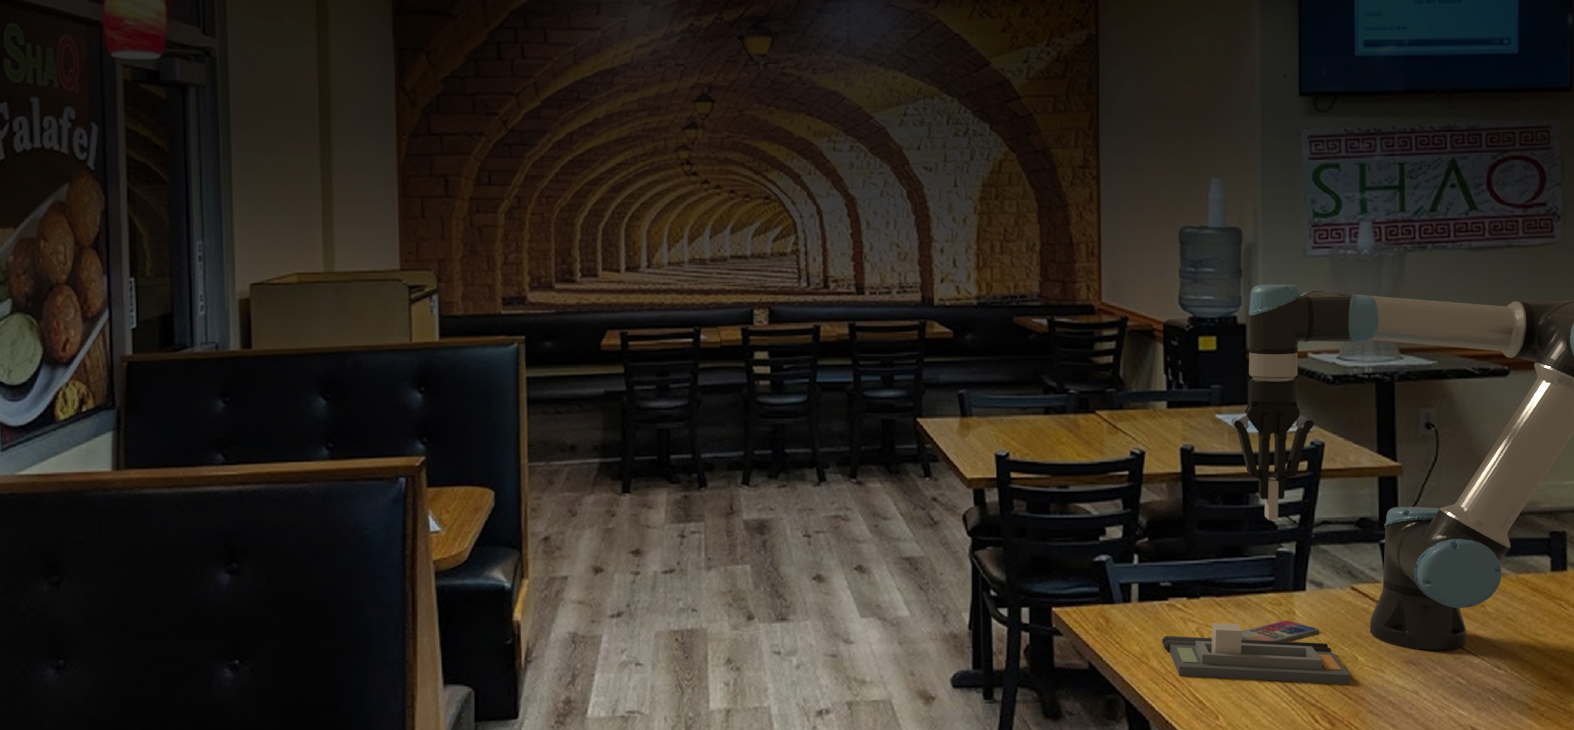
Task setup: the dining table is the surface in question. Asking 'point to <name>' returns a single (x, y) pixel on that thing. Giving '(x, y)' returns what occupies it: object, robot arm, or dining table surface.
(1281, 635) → the smartphone
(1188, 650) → the panel
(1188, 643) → the cord
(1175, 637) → the dark grey rod
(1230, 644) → the block
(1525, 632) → the dining table surface
